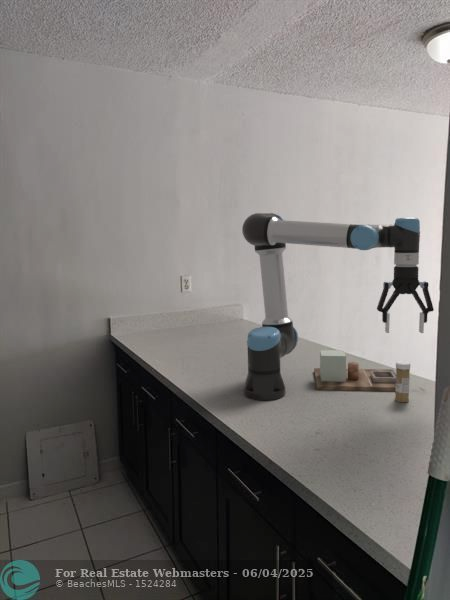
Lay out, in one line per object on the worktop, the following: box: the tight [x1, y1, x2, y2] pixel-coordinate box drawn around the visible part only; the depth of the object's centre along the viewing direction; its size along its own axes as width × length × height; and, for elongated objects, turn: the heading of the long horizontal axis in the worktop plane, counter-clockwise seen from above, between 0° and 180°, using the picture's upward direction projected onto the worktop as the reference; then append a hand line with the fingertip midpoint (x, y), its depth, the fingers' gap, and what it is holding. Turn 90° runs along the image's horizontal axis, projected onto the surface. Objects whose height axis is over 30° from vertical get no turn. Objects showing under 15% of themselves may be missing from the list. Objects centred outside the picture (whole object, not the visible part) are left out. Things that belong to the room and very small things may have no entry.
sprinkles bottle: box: [394, 360, 411, 403], centre depth 161 cm, size 5×5×14 cm
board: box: [313, 361, 396, 392], centre depth 183 cm, size 31×22×8 cm
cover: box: [319, 349, 347, 382], centre depth 182 cm, size 9×8×10 cm
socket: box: [370, 371, 396, 383], centre depth 180 cm, size 8×8×2 cm
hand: (404, 332), depth 158 cm, fingers open, 10 cm apart
